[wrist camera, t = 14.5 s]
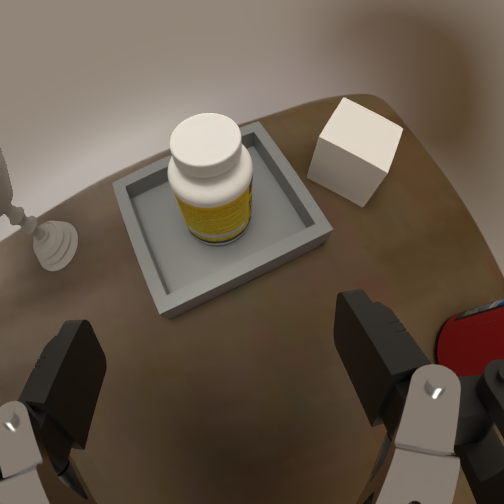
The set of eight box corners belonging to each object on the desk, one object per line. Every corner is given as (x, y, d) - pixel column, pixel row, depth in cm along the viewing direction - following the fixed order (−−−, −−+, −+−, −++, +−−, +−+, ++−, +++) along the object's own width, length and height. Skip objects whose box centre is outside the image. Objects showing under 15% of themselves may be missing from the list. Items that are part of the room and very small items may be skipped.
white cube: (362, 208, 27) (387, 173, 21) (305, 178, 28) (318, 136, 22) (380, 165, 29) (403, 128, 23) (329, 138, 29) (343, 97, 24)
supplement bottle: (262, 232, 25) (270, 157, 15) (198, 257, 24) (169, 194, 14) (236, 179, 26) (232, 94, 17) (177, 201, 25) (147, 123, 16)
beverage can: (489, 331, 23) (578, 306, 12) (467, 394, 21) (562, 394, 10) (446, 301, 24) (540, 261, 13) (420, 368, 22) (522, 362, 11)
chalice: (32, 289, 23) (-114, 209, 6) (28, 228, 25) (-85, 127, 8) (92, 266, 24) (-54, 146, 7) (84, 202, 26) (-20, 68, 9)
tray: (169, 319, 23) (159, 314, 20) (123, 199, 26) (112, 183, 24) (323, 243, 25) (333, 229, 23) (257, 141, 29) (258, 121, 26)
